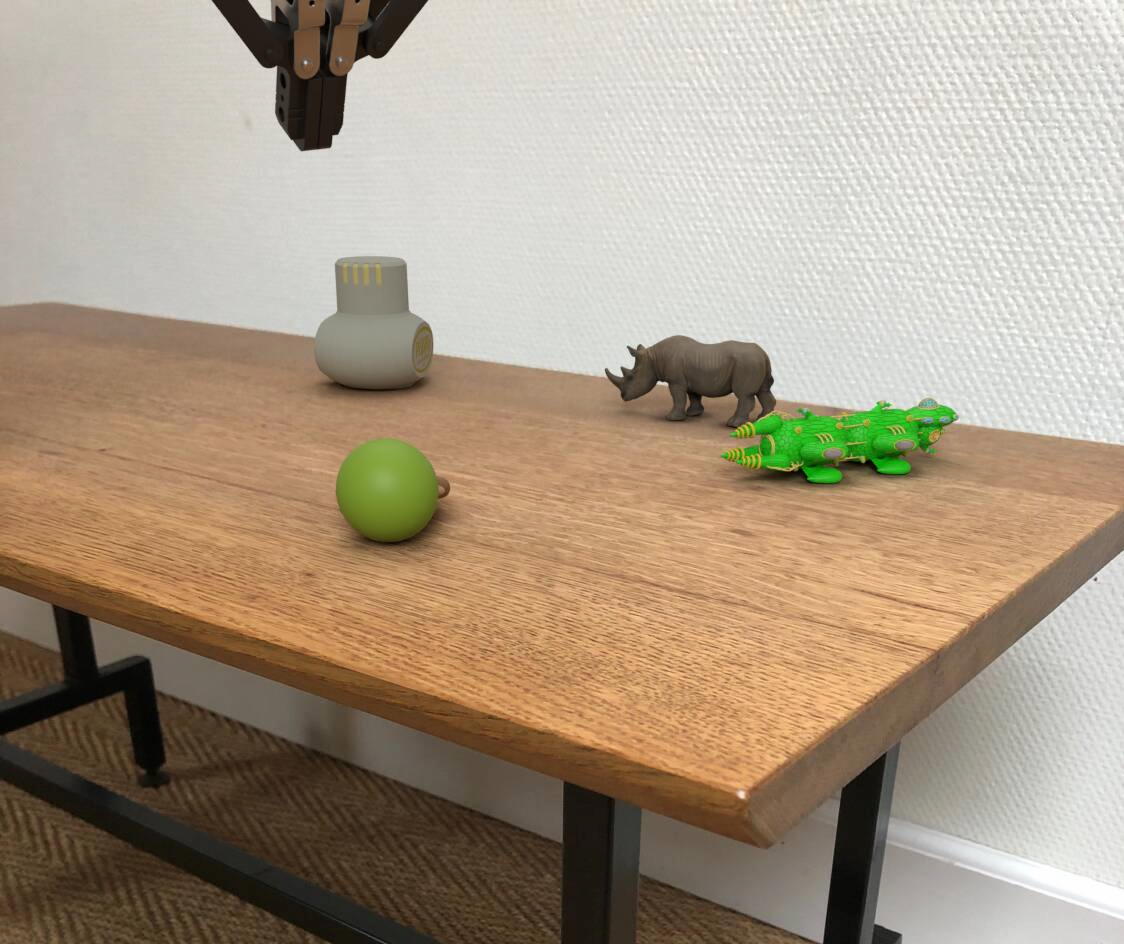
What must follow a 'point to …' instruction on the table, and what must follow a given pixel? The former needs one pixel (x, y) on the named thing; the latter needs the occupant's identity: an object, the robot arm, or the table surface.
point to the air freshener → (373, 328)
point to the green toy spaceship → (842, 439)
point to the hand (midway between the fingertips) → (307, 140)
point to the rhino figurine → (701, 375)
